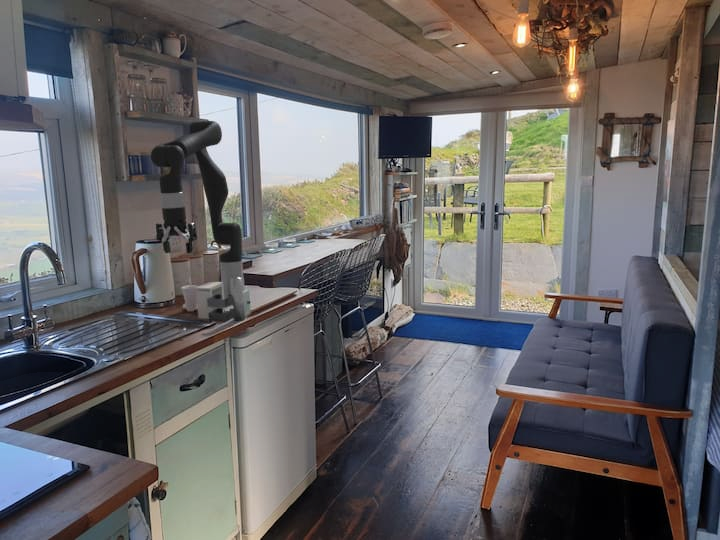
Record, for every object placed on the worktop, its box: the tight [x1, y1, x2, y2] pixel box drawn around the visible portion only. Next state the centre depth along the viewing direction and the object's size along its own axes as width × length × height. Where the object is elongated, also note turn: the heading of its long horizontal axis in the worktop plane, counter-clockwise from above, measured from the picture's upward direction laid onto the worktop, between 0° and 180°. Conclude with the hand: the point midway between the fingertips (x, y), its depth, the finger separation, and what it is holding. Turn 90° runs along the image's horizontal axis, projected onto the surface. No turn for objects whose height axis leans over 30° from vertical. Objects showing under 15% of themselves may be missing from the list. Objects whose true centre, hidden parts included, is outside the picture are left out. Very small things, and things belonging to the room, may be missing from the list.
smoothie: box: [180, 275, 199, 312], centre depth 217 cm, size 6×6×14 cm
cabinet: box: [196, 281, 234, 323], centre depth 207 cm, size 13×13×12 cm
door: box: [231, 277, 252, 322], centre depth 204 cm, size 4×10×16 cm, turn 165°
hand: (178, 252), depth 186 cm, fingers open, 8 cm apart
